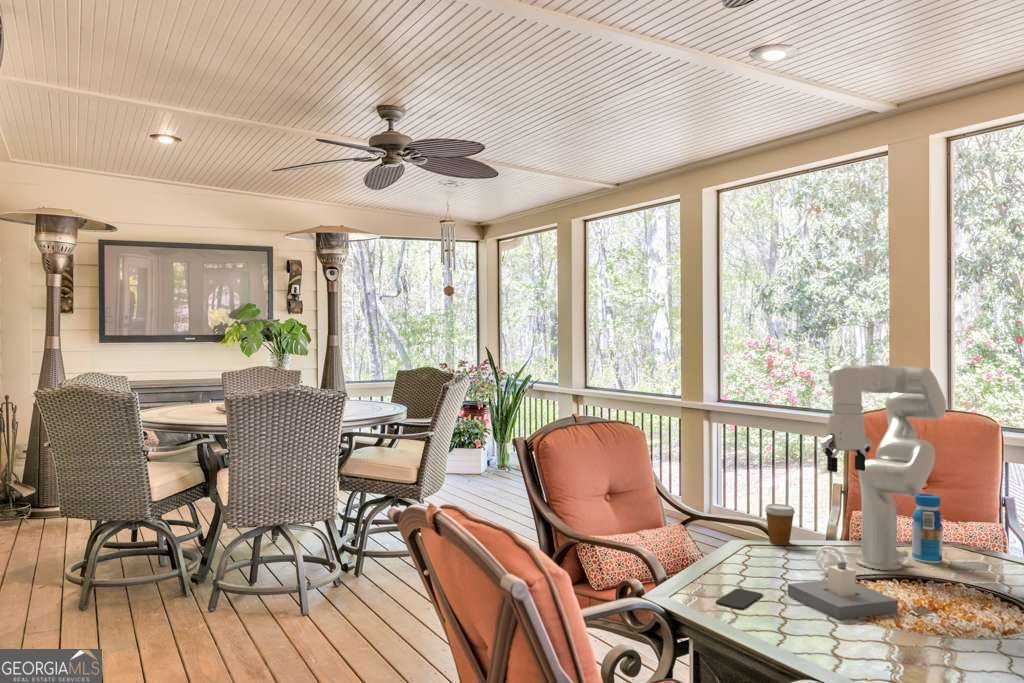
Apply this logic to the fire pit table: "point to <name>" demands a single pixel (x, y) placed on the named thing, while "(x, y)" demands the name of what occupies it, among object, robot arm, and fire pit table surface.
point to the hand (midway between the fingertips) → (846, 470)
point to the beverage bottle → (927, 529)
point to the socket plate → (842, 600)
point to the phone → (739, 599)
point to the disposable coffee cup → (779, 523)
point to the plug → (841, 580)
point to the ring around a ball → (828, 557)
